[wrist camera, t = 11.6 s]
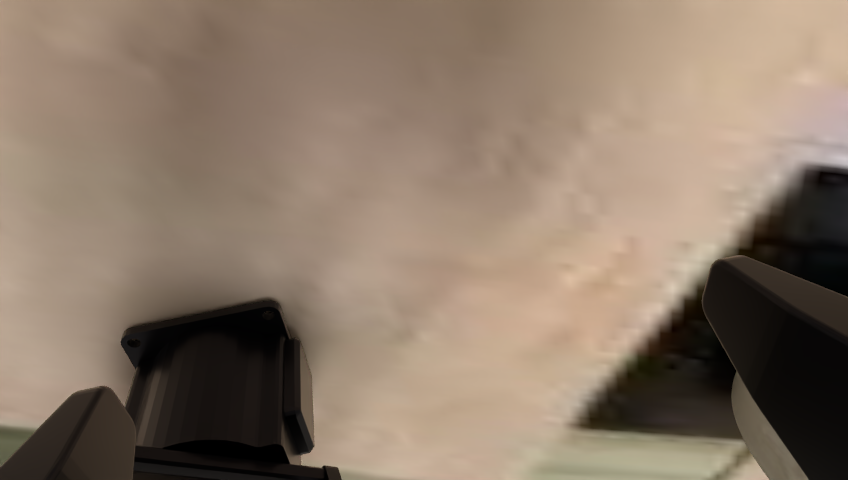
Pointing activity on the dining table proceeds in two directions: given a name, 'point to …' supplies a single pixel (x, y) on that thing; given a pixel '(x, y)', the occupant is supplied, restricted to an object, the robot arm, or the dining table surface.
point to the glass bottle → (762, 437)
